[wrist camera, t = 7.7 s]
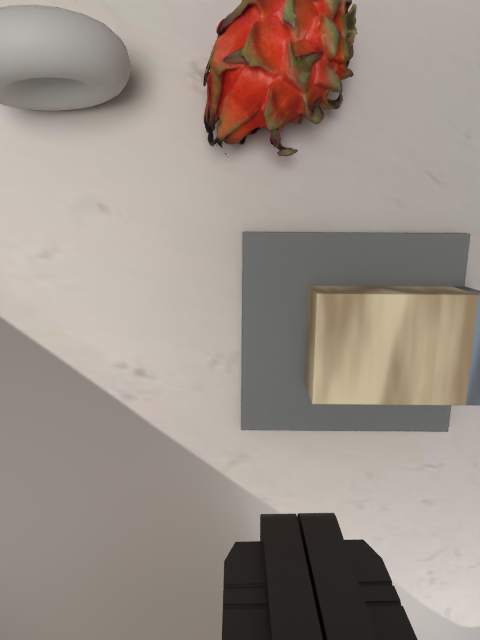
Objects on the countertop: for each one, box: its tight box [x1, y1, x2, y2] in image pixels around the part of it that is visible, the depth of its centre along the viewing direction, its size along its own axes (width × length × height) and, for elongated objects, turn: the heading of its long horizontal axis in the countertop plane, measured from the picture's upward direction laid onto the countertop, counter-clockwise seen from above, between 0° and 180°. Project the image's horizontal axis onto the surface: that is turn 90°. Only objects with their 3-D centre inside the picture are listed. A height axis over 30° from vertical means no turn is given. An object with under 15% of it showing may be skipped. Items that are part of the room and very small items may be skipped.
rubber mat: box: [241, 232, 470, 432], centre depth 36 cm, size 17×16×1 cm
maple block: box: [305, 286, 480, 405], centre depth 34 cm, size 4×8×12 cm
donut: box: [0, 5, 131, 111], centre depth 28 cm, size 10×4×10 cm, turn 96°
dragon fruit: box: [203, 0, 357, 157], centre depth 29 cm, size 8×8×12 cm
